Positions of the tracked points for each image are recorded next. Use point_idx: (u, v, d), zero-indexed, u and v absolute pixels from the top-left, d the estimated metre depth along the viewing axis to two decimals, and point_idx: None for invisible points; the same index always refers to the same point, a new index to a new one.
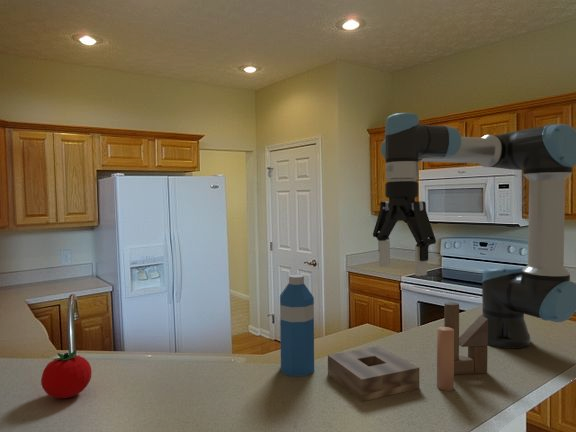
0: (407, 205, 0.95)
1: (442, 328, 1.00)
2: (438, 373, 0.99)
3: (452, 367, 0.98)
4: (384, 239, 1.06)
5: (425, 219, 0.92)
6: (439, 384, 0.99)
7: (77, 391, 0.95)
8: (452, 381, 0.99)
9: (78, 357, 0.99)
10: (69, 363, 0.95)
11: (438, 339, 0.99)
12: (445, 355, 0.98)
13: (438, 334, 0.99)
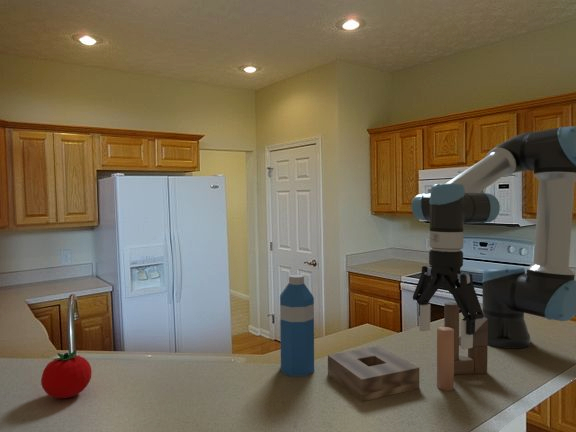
0: (453, 276, 0.95)
1: (442, 328, 1.00)
2: (438, 373, 0.99)
3: (452, 367, 0.98)
4: (425, 303, 1.06)
5: (472, 293, 0.92)
6: (439, 384, 0.99)
7: (77, 391, 0.95)
8: (452, 381, 0.99)
9: (78, 357, 0.99)
10: (69, 363, 0.95)
11: (438, 339, 0.99)
12: (445, 355, 0.98)
13: (438, 334, 0.99)
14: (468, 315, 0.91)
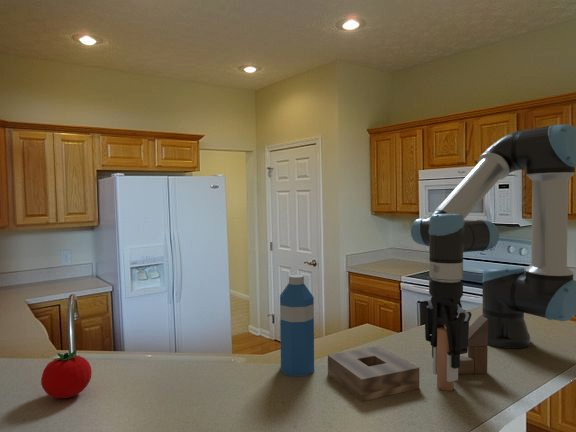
0: (453, 308, 0.96)
1: (443, 327, 1.00)
2: (438, 373, 0.99)
3: None
4: None
5: (465, 331, 0.94)
6: (439, 384, 0.99)
7: (77, 391, 0.95)
8: (452, 381, 0.99)
9: (78, 357, 0.99)
10: (69, 363, 0.95)
11: (438, 339, 0.99)
12: (445, 355, 0.98)
13: (438, 334, 0.99)
14: (454, 351, 0.96)
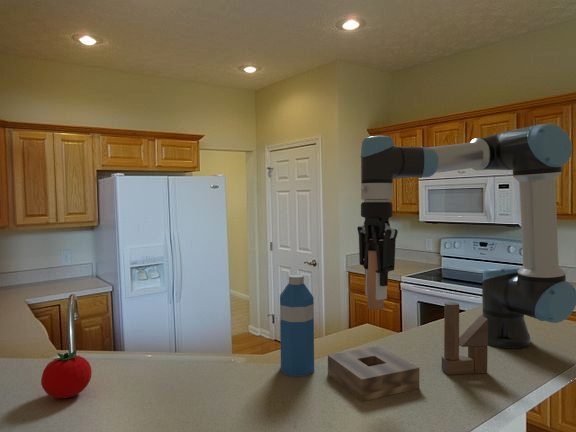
0: (381, 226, 0.98)
1: (374, 250, 1.03)
2: (368, 294, 1.02)
3: None
4: None
5: (391, 247, 0.97)
6: (369, 304, 1.02)
7: (77, 391, 0.95)
8: (381, 301, 1.01)
9: (78, 357, 0.99)
10: (69, 363, 0.95)
11: (369, 260, 1.02)
12: (374, 274, 1.01)
13: (369, 255, 1.02)
14: (381, 269, 0.99)
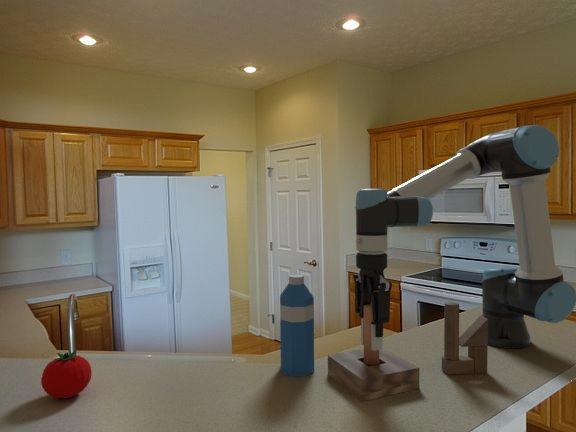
0: (376, 279, 0.99)
1: (369, 305, 1.04)
2: (364, 348, 1.03)
3: None
4: None
5: (386, 300, 0.98)
6: (365, 359, 1.03)
7: (77, 391, 0.95)
8: (377, 356, 1.02)
9: (78, 357, 0.99)
10: (69, 363, 0.95)
11: (364, 315, 1.03)
12: (369, 330, 1.02)
13: (364, 311, 1.03)
14: (376, 321, 0.99)
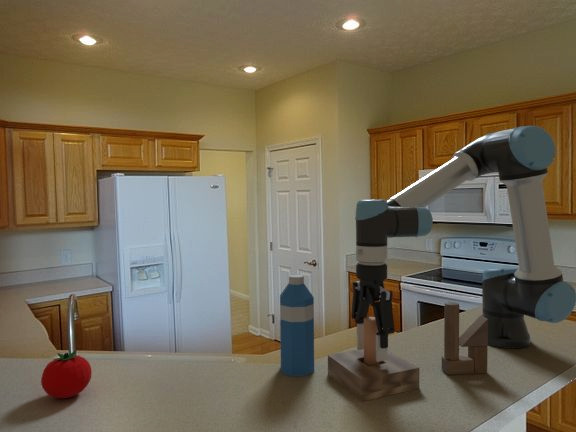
0: (376, 289, 0.99)
1: (369, 317, 1.04)
2: (364, 361, 1.03)
3: None
4: (362, 321, 1.07)
5: (389, 309, 0.97)
6: None
7: (77, 391, 0.95)
8: None
9: (78, 357, 0.99)
10: (69, 363, 0.95)
11: (364, 328, 1.03)
12: (369, 343, 1.02)
13: (364, 323, 1.03)
14: (381, 331, 0.98)
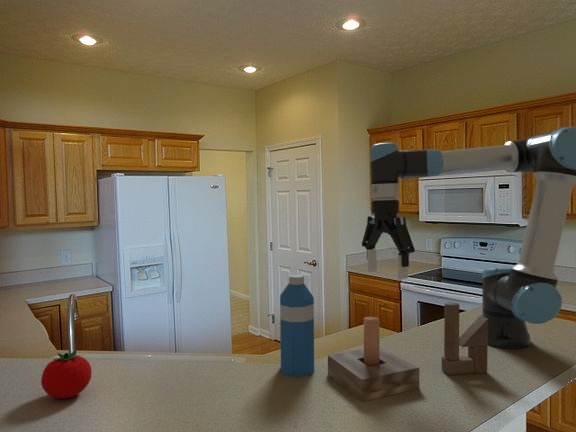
0: (390, 220, 1.14)
1: (369, 317, 1.04)
2: (364, 361, 1.03)
3: (377, 355, 1.02)
4: (371, 248, 1.24)
5: (405, 232, 1.11)
6: None
7: (77, 391, 0.95)
8: None
9: (78, 357, 0.99)
10: (69, 363, 0.95)
11: (364, 328, 1.03)
12: (369, 343, 1.02)
13: (364, 323, 1.03)
14: (402, 250, 1.10)
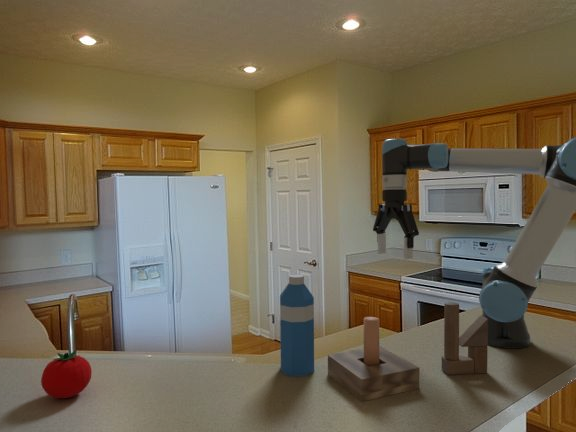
0: (398, 207, 1.29)
1: (369, 317, 1.04)
2: (364, 361, 1.03)
3: (377, 355, 1.02)
4: (381, 233, 1.40)
5: (411, 217, 1.25)
6: None
7: (77, 391, 0.95)
8: None
9: (78, 357, 0.99)
10: (69, 363, 0.95)
11: (364, 328, 1.03)
12: (369, 343, 1.02)
13: (364, 324, 1.03)
14: (408, 233, 1.25)
